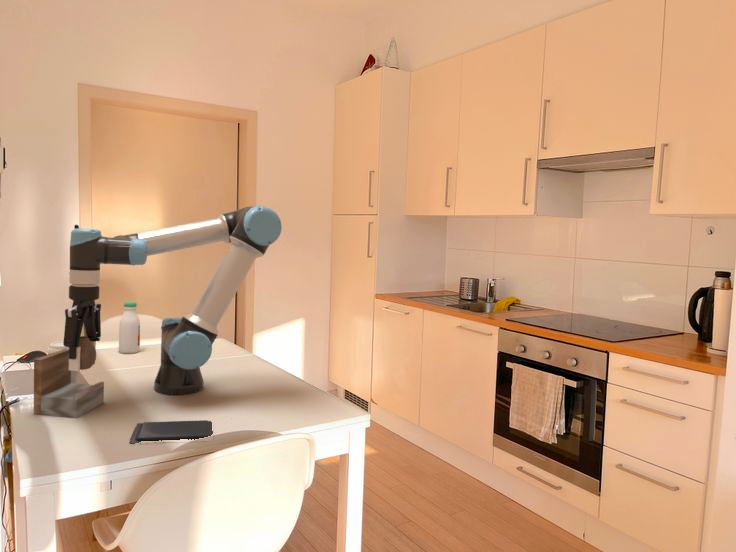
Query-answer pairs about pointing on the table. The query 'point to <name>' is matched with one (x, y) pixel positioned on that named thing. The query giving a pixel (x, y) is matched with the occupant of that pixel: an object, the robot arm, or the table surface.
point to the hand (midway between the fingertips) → (82, 367)
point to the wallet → (171, 430)
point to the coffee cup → (57, 347)
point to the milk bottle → (129, 330)
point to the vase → (86, 353)
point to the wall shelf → (62, 388)
